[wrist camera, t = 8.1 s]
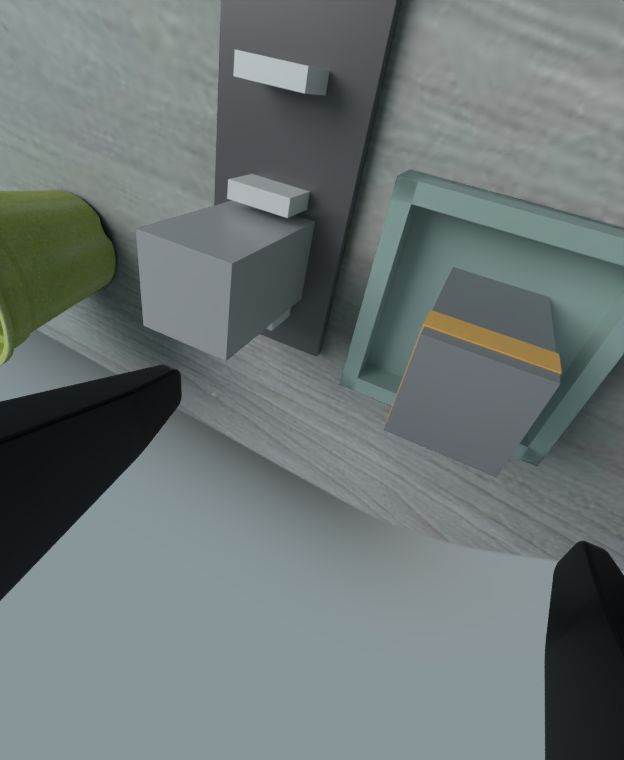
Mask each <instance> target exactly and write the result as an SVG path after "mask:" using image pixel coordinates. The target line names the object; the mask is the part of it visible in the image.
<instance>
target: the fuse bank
mask: <svg viewBox="0 0 624 760" xmlns="http://www.w3.org/2000/svg"><path fill="white" fill-rule="evenodd" d="M400 4H401V0H221V21H220V52H219V82H218V112H217V142H216V173H215V203H214V206H212V207H208V208H205V209H201V210H198V211H194V212H191V213H188V214H184V215H181V216H177V217H174V218H170V219H167V220H164V221H160V222H157V223H153V224H150V225H146V226H143V227H140V228H136V239H137V251H138V264H139V276H140V289H141V301H142V314H143V326H145V327H148V328H150V329H152V330H155V331H157V332H159V333H162V334H164V335H166V336H169V337H171V338H173V339H176V340H178V341H180V342H183V343H185V344H187V345H190V346H192V347H194V348H197V349H199V350H201V351H204V352H206V353H208V354H211V355H213V356H215V357H218V358H220V359H222V360H225V361H226V360H228V359H229V358H230V357H231V356H233V355H234V354H235V353H236V352H237V351H239V350H240V349H241V348H242V347H244V346H245V345H246V344H247V343H248V342H250V341H251V340H252V339H253V338H255V337H256V336H257V335H258V334H262V335H264V336H267V337H269V338H272V339H274V340H277V341H279V342H282V343H284V344H287V345H289V346H292V347H294V348H297V349H299V350H302V351H304V352H307V353H309V354H312V355H314V356H317V355H318V354H319V353H320V352H321V348H322V344H323V340H324V335H325V331H326V327H327V322H328V318H329V314H330V309H331V305H332V300H333V296H334V292H335V287H336V283H337V279H338V274H339V270H340V266H341V261H342V257H343V253H344V248H345V244H346V240H347V235H348V231H349V226H350V222H351V218H352V213H353V209H354V205H355V200H356V196H357V192H358V187H359V183H360V179H361V174H362V170H363V166H364V161H365V157H366V152H367V148H368V144H369V139H370V135H371V131H372V126H373V122H374V118H375V113H376V109H377V105H378V100H379V96H380V91H381V87H382V83H383V78H384V74H385V70H386V65H387V61H388V57H389V52H390V48H391V44H392V39H393V35H394V31H395V26H396V22H397V17H398V13H399V9H400Z"/></svg>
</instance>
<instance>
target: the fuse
mask: <svg viewBox="0 0 624 760" xmlns="http://www.w3.org/2000/svg"><path fill="white" fill-rule="evenodd" d="M561 373H562V371H561V364H560V356H559V354H558V353H556V346H555V338H554V330H553V322H552V315H551V307H550V299H549V297H548V296H544V295H541V294H538V293H535V292H532V291H528V290H525V289H522V288H519V287H516V286H512V285H509V284H506V283H503V282H500V281H496V280H493V279H490V278H487V277H484V276H481V275H477V274H474V273H471V272H468V271H465V270H461V269H458V268H455V267H453V268H452V270H451V272H450V274H449V276H448V278H447V280H446V282H445V284H444V286H443V288H442V290H441V293H440V295H439V297H438V299H437V301H436V303H435V305H434V307H433V309H432V310H430V312H429V314H428V316H427V318H426V320H425V322H424V324H423V326H422V329H421V332H420V334H419V337H418V339H417V342H416V345H415V347H414V350H413V352H412V355H411V358H410V360H409V363H408V366H407V368H406V371H405V373H404V376H403V379H402V381H401V384H400V386H399V389H398V392H397V394H396V397H395V399H394V402H393V405H392V407H391V410H390V412H389V415H388V418H387V420H386V421H387V422H386V425H385V428H384V430H386V431H388V432H390V433H393V434H395V435H397V436H400V437H402V438H404V439H407V440H409V441H412V442H414V443H416V444H419V445H421V446H423V447H426V448H428V449H430V450H433V451H435V452H438V453H440V454H442V455H445V456H447V457H449V458H452V459H454V460H456V461H459V462H461V463H463V464H466V465H468V466H471V467H473V468H475V469H478V470H480V471H482V472H485V473H487V474H489V475H492V476H494V477H497V476H498V475H499V473H500V472H501V470H502V469H503V467H504V466H505V464H506V463H507V462H508V460H509V459H510V457H511V456H512V454H513V453H514V451H515V450H516V448H517V447H518V445H519V444H520V442H521V441H522V440H523V438H524V437H525V435H526V434H527V432H528V431H529V429H530V428H531V426H532V425H533V423H534V422H535V420H536V419H537V418H538V416H539V415H540V413H541V412H542V410H543V409H544V407H545V406H546V404H547V403H548V401H549V400H550V398H551V397H552V396H553V394H554V393H555V391H556V390H557V388H558V387H559V385H560V377H559V376H560V375H561Z"/></svg>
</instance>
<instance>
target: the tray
mask: <svg viewBox="0 0 624 760" xmlns="http://www.w3.org/2000/svg"><path fill="white" fill-rule="evenodd" d="M453 267H455V268H458V269H461V270H465V271H468V272H471V273H474V274H477V275H481V276H484V277H487V278H490V279H493V280H496V281H500V282H503V283H506V284H509V285H512V286H516V287H519V288H522V289H525V290H528V291H532V292H535V293H538V294H541V295H544V296H548V297H549V299H550V307H551V315H552V322H553V330H554V338H555V346H556V353H558V354H559V356H560V364H561V371H562V373H561V375H560V376H559V377H560V385H559V387H558V388H557V390H556V391H555V393H554V394H553V396H552V397H551V398H550V400H549V401H548V403H547V404H546V406H545V407H544V409H543V410H542V412H541V413H540V415H539V416H538V418H537V419H536V420H535V422H534V423H533V425H532V426H531V428H530V429H529V431H528V432H527V434H526V435H525V437H524V438H523V440H522V441H521V442H520V444H519V445H518V447H517V448H516V450H515V451H514V453H513V454H512V456H513V457H516V458H518V459H521V460H523V461H526V462H528V463H530V464H533V465H535V466H538V465H539V463H540V462H541V461H542V460H543V458H544V457H545V456H546V454H547V453H548V452H549V450H550V449H551V448H552V446H553V445H554V444H555V443H556V441H557V440H558V439H559V437H560V436H561V435H562V433H563V432H564V431H565V430H566V428H567V427H568V426H569V424H570V423H571V422H572V420H573V419H574V418H575V417H576V415H577V414H578V413H579V411H580V410H581V409H582V407H583V406H584V405H585V404H586V402H587V401H588V400H589V398H590V397H591V396H592V394H593V393H594V392H595V391H596V389H597V388H598V387H599V385H600V384H601V383H602V381H603V380H604V379H605V378H606V376H607V375H608V374H609V372H610V371H611V370H612V368H613V367H614V366H615V364H616V363H617V362H618V361H619V359H620V358H621V357H622V355H623V354H624V228H623V227H620V226H616V225H612V224H609V223H605V222H601V221H598V220H594V219H590V218H587V217H583V216H579V215H576V214H572V213H568V212H565V211H561V210H557V209H554V208H550V207H546V206H543V205H539V204H535V203H532V202H528V201H524V200H521V199H517V198H513V197H510V196H506V195H502V194H499V193H495V192H491V191H488V190H484V189H480V188H476V187H473V186H469V185H465V184H462V183H458V182H454V181H451V180H447V179H443V178H440V177H436V176H432V175H429V174H425V173H421V172H418V171H414V170H408V171H406V172H404V173H402V174H400V175H398V176H397V179H396V183H395V187H394V190H393V194H392V197H391V201H390V204H389V208H388V212H387V215H386V219H385V222H384V226H383V230H382V233H381V237H380V240H379V244H378V248H377V251H376V255H375V258H374V262H373V265H372V269H371V273H370V276H369V280H368V283H367V287H366V291H365V294H364V298H363V301H362V305H361V309H360V312H359V316H358V319H357V323H356V326H355V330H354V334H353V337H352V341H351V344H350V348H349V352H348V355H347V359H346V362H345V366H344V370H343V373H342V377H341V380H340V384H339V385H342V386H344V387H347V388H349V389H351V390H354V391H356V392H359V393H361V394H363V395H366V396H368V397H371V398H373V399H376V400H378V401H380V402H383V403H385V404H388V405H390V406H392V405H393V402H394V399H395V397H396V394H397V392H398V389H399V386H400V384H401V381H402V379H403V376H404V373H405V371H406V368H407V366H408V363H409V360H410V358H411V355H412V352H413V350H414V347H415V345H416V342H417V339H418V337H419V334H420V332H421V329H422V326H423V324H424V322H425V320H426V318H427V316H428V314H429V312H430V310H432V309H433V307H434V305H435V303H436V301H437V299H438V297H439V295H440V293H441V290H442V288H443V286H444V284H445V282H446V280H447V278H448V276H449V274H450V272H451V270H452V268H453Z"/></svg>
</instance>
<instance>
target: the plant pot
mask: <svg viewBox="0 0 624 760" xmlns="http://www.w3.org/2000/svg"><path fill="white" fill-rule="evenodd" d="M115 266H116V261H115V251H114V247H113V244H112V242H111V241H110V240H109V238H108V237H107V236H106V234H105V233H104V231H103V229H102V226H101V222H100V218H99V216H98V215H97V214H96V212H95V211H94V210H93V209H92V208H91V207H90V206H89V205H88V204H87V203H86V202H85V201H83V200H82V199H81V198H79V197H78V196H76V195H74V194H72V193H70V192H67V191H59V190H58V191H0V365H2V364H4V363H6V362H7V361H8V360H9V359H10V357H11V356H12V354H13V351H14V348H16V347H17V346H19V345H20V344H22V343H23V342H24V341H25V340H26V339H27V338H28V337H29V335H30V333H31V332H33V331H34V330H36V329H37V328H39V327H40V326H42V325H44V324H45V323H47V322H48V321H50V320H51V319H53V318H55V317H56V316H58V315H59V314H61V313H62V312H64V311H66V310H67V309H69V308H70V307H72V306H73V305H75V304H77V303H78V302H80V301H82V300H83V299H85V298H86V297H88V296H90V295H91V294H93V293H95V292H96V291H98V290H99V289H101V288H102V287H104V286H105V285H107V284H108V283H109V282H110V281H111V279H112V278H113V276H114V272H115Z"/></svg>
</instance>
